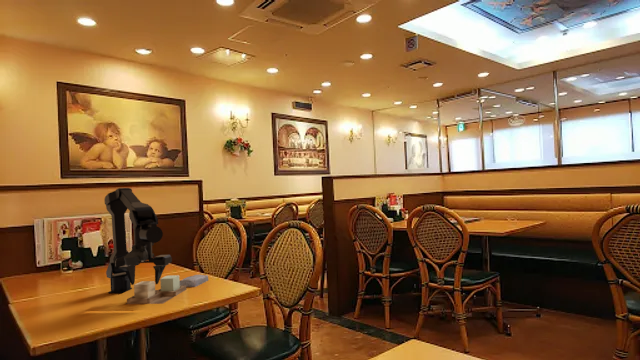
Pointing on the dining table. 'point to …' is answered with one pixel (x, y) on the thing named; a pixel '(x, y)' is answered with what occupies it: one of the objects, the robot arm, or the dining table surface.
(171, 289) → the sage block
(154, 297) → the walnut base board
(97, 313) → the dining table surface
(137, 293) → the oak block
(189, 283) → the stone block
